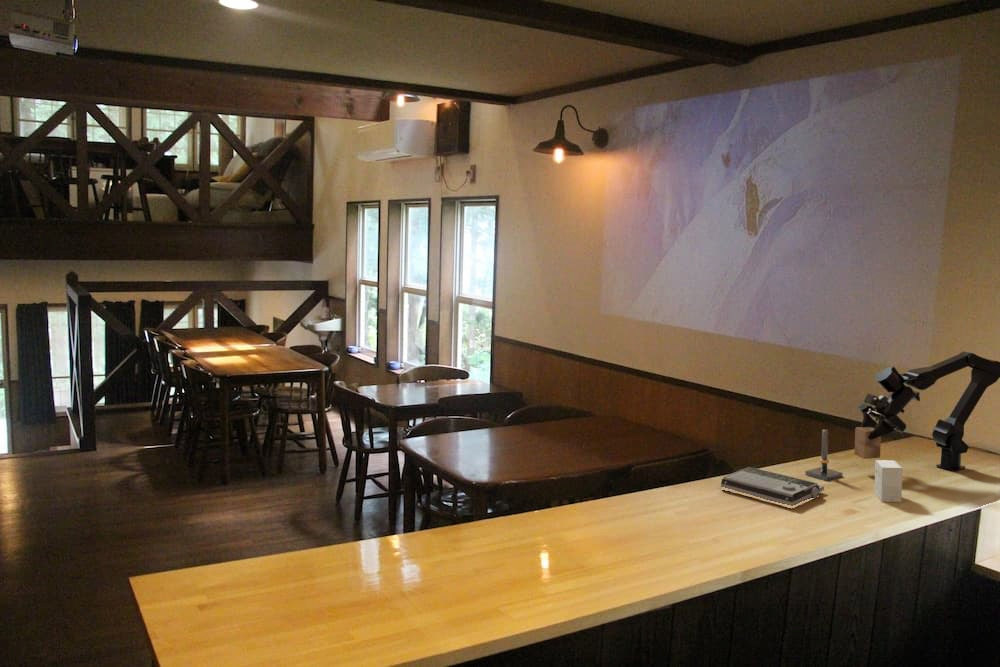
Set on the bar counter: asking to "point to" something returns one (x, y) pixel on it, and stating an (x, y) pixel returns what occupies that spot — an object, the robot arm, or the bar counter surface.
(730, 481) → the radio
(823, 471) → the height gauge
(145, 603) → the bar counter surface
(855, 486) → the bar counter surface
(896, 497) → the small box
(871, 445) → the walnut block
